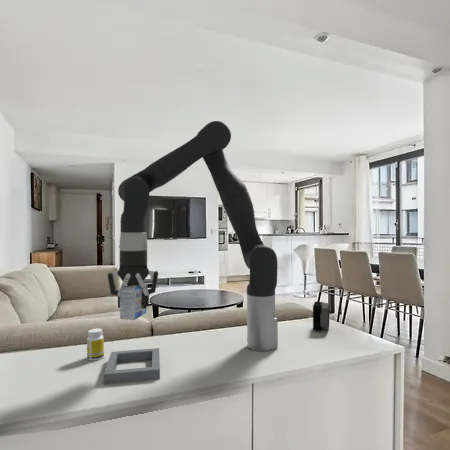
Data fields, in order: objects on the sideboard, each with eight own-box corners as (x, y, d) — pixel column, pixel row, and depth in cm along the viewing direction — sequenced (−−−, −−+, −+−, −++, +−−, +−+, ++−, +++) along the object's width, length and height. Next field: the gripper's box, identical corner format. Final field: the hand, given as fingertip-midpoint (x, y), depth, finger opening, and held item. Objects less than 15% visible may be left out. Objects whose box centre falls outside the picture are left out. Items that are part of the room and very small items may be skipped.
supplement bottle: (107, 356, 106) (106, 328, 106) (96, 361, 101) (96, 333, 101) (94, 354, 107) (94, 327, 107) (83, 359, 103) (83, 331, 103)
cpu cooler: (328, 334, 125) (327, 306, 125) (312, 332, 127) (311, 305, 127) (330, 326, 135) (329, 300, 135) (315, 324, 137) (314, 299, 137)
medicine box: (134, 320, 92) (134, 288, 92) (119, 319, 92) (119, 287, 92) (146, 313, 99) (147, 283, 99) (132, 312, 100) (132, 282, 100)
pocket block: (159, 356, 105) (159, 348, 105) (159, 378, 89) (159, 369, 89) (111, 360, 102) (111, 351, 102) (103, 384, 86) (103, 374, 86)
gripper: (159, 247, 101) (159, 304, 101) (108, 248, 98) (108, 307, 98) (159, 249, 94) (159, 310, 94) (104, 249, 91) (104, 313, 91)
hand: (133, 308), depth 96 cm, fingers closed on medicine box, 5 cm apart
